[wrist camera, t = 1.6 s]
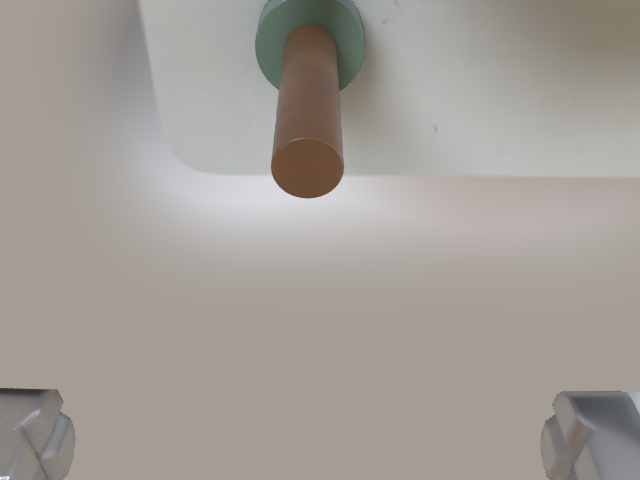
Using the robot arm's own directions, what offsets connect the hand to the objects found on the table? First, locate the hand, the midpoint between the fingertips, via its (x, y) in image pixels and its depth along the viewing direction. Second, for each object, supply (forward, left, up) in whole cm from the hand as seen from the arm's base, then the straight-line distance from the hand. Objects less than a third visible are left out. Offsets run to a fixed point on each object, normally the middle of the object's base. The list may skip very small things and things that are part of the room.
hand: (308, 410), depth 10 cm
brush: (0, -2, -23) cm, 23 cm away
